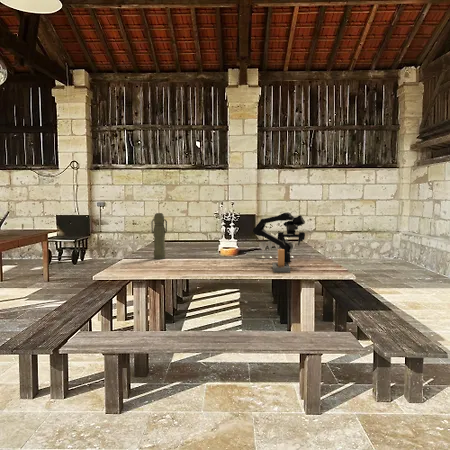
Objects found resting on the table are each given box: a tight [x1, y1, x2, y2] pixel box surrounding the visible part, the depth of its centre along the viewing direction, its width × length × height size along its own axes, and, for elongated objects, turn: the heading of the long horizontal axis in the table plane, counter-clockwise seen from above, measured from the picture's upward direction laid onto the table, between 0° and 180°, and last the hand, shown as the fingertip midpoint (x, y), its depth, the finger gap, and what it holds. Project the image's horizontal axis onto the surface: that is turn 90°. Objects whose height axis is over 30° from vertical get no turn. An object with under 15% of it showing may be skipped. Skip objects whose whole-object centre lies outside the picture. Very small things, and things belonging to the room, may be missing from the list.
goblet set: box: [258, 240, 296, 259], centre depth 314 cm, size 28×6×13 cm, turn 92°
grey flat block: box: [271, 261, 291, 273], centre depth 259 cm, size 20×10×3 cm, turn 176°
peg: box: [277, 248, 285, 266], centre depth 259 cm, size 4×4×13 cm
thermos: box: [150, 212, 168, 260], centre depth 309 cm, size 9×12×35 cm
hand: (291, 245), depth 277 cm, fingers open, 9 cm apart
